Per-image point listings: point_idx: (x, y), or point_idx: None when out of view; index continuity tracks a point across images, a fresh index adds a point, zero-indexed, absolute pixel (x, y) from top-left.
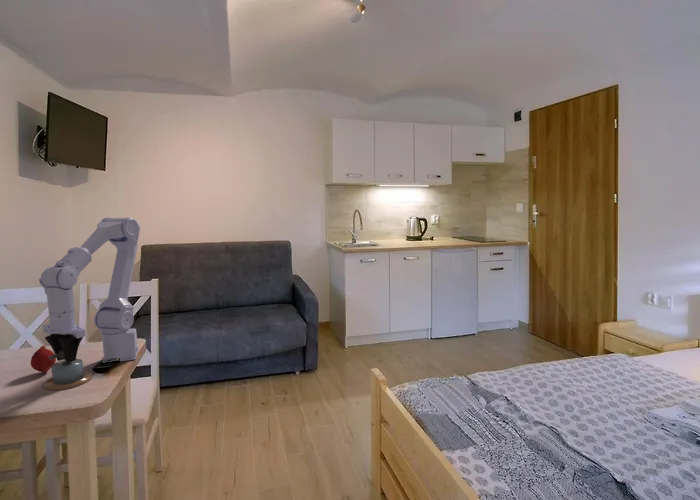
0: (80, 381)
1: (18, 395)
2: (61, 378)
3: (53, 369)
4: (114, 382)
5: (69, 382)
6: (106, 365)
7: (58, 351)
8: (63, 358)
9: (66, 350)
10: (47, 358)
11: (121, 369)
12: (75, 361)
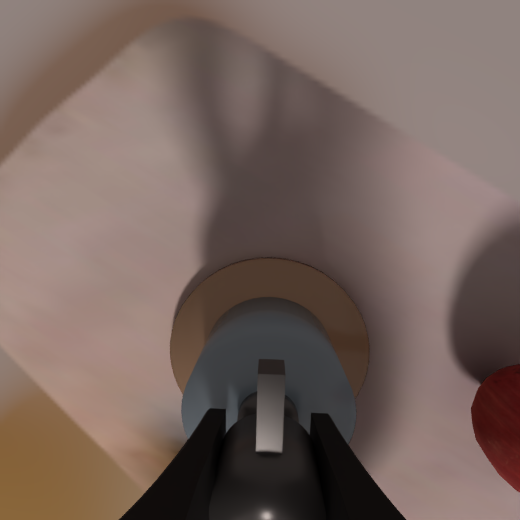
0: (185, 356)
1: (348, 165)
2: (229, 318)
3: (272, 331)
4: (64, 403)
5: (211, 327)
6: None
7: (329, 486)
8: (242, 427)
9: (142, 497)
10: (513, 443)
11: None
12: None
